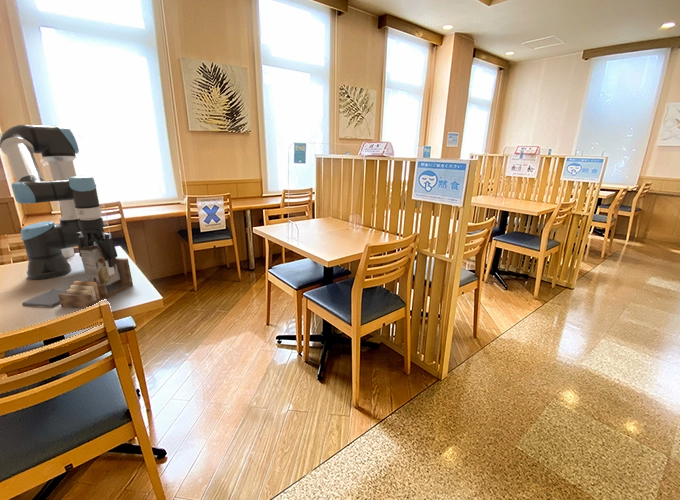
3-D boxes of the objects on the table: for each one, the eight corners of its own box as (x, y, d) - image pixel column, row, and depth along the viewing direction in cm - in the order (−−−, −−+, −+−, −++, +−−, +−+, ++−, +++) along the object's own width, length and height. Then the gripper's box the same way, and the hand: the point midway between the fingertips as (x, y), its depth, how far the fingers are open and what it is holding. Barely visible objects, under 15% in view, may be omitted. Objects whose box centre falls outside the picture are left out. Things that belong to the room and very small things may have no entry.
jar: (73, 252, 177) (68, 231, 174) (75, 256, 172) (70, 234, 168) (52, 256, 171) (46, 234, 168) (53, 260, 166) (47, 237, 162)
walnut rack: (61, 306, 119) (53, 276, 116) (107, 283, 140) (101, 257, 136) (91, 308, 118) (84, 278, 115) (133, 284, 138) (127, 258, 135)
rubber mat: (22, 305, 120) (21, 302, 120) (53, 291, 131) (52, 289, 131) (52, 307, 119) (51, 304, 119) (80, 293, 130) (79, 290, 130)
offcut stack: (70, 304, 121) (65, 285, 119) (80, 299, 125) (75, 280, 123) (91, 306, 120) (86, 286, 118) (100, 300, 124) (96, 281, 122)
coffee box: (107, 277, 136) (99, 241, 131) (120, 279, 135) (113, 242, 130) (87, 286, 128) (78, 248, 123) (101, 288, 127) (92, 249, 121)
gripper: (57, 218, 120) (72, 276, 127) (106, 221, 118) (118, 279, 126) (75, 214, 127) (88, 268, 135) (121, 217, 125) (132, 271, 133)
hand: (102, 273), depth 130 cm, fingers closed on coffee box, 7 cm apart
